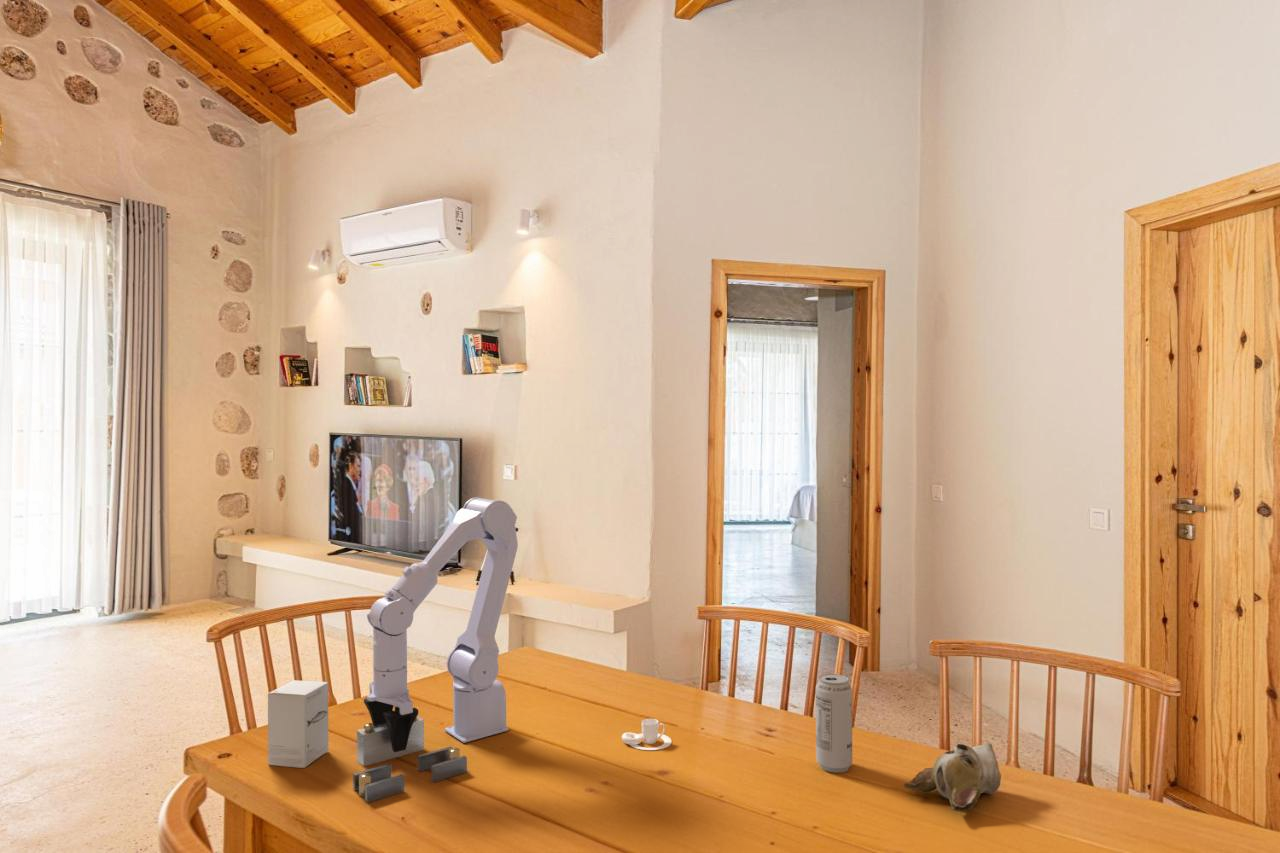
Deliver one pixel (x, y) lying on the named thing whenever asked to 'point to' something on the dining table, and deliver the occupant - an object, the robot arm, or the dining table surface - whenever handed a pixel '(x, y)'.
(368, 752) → the block with brass knobs
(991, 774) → the ceramic sculpture
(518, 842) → the dining table surface
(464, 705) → the robot arm
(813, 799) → the dining table surface
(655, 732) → the teacup and saucer
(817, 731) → the energy drink can
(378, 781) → the end link
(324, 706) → the supplement box
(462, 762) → the end link
